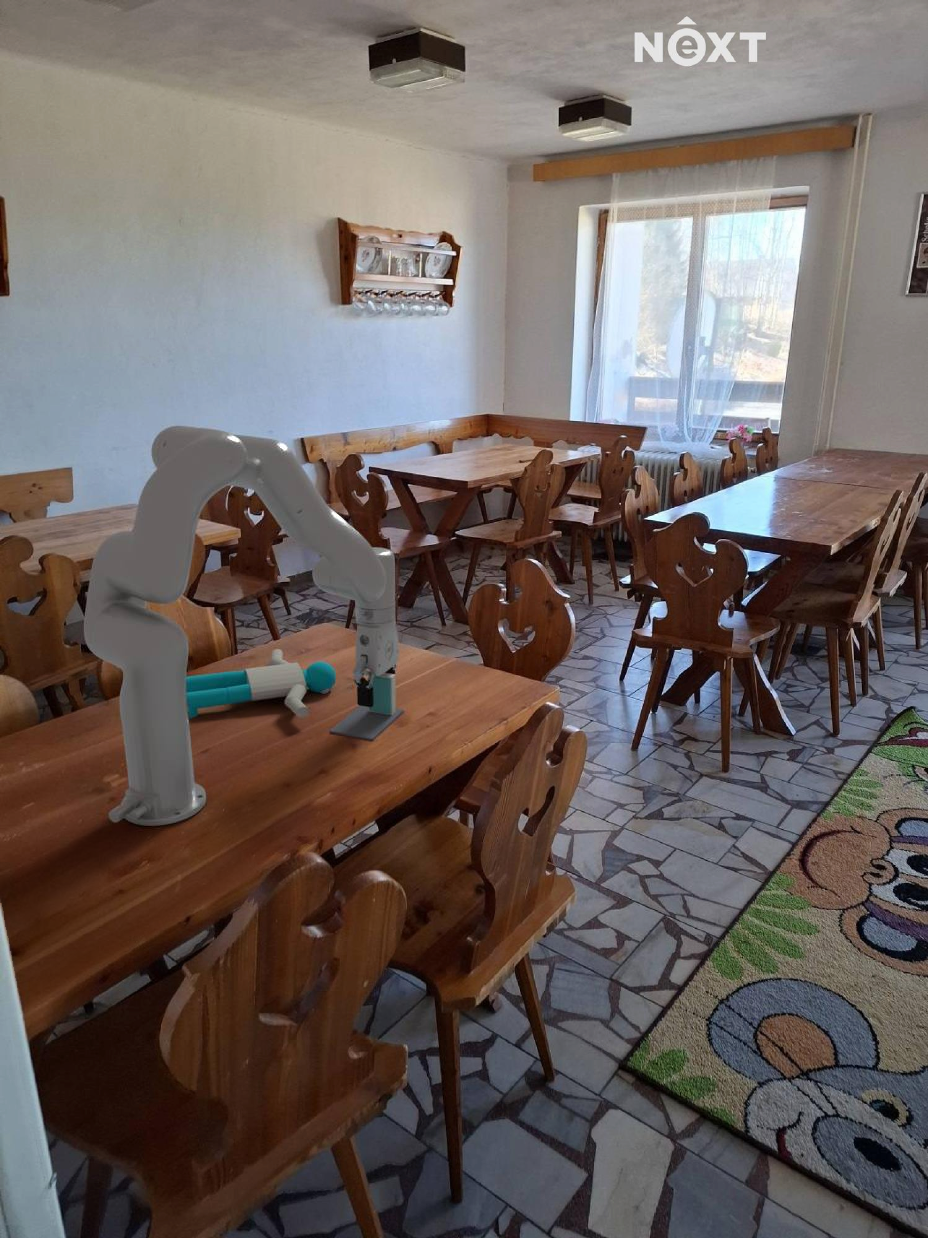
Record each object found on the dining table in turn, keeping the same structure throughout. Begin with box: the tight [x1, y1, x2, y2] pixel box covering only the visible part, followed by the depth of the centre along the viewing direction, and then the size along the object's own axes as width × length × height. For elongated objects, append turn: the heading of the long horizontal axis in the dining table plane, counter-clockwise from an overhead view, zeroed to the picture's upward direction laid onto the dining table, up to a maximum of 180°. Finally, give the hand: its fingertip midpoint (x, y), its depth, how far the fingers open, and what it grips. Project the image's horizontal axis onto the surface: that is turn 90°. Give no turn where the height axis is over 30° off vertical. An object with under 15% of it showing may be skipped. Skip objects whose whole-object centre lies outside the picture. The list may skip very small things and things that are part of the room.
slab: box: [367, 673, 397, 715], centre depth 166 cm, size 2×5×8 cm, turn 70°
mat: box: [329, 705, 405, 741], centre depth 163 cm, size 14×9×1 cm, turn 160°
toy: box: [186, 648, 337, 719], centre depth 173 cm, size 34×6×30 cm
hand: (376, 696), depth 166 cm, fingers open, 9 cm apart
